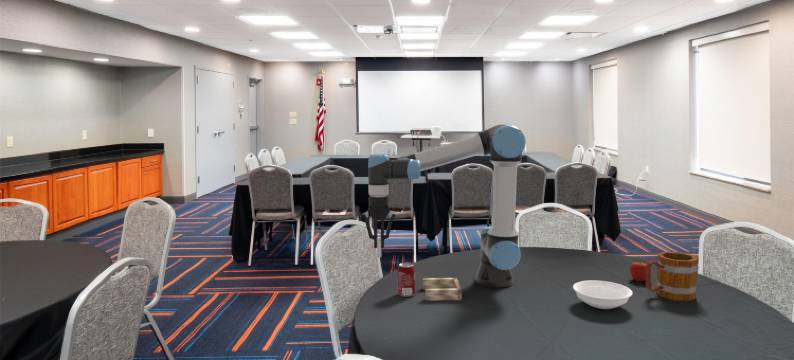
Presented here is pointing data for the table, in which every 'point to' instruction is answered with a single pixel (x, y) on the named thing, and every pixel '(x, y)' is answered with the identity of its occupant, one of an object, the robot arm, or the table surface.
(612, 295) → the bowl
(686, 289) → the mug
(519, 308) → the table surface
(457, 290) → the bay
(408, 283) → the soda can
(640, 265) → the apple
